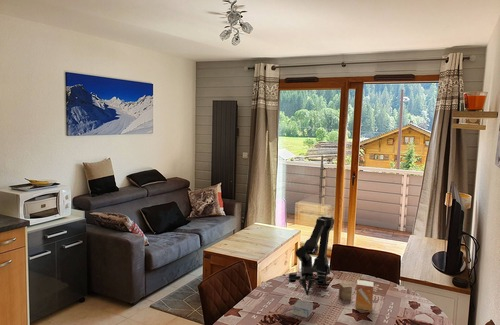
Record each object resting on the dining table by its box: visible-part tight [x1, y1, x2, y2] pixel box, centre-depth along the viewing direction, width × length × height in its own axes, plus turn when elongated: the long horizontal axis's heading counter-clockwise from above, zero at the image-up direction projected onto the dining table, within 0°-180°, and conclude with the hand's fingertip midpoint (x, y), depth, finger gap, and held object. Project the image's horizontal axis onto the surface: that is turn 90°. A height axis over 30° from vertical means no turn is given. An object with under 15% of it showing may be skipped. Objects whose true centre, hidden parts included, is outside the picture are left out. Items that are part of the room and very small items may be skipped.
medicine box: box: [292, 299, 314, 319], centre depth 192 cm, size 8×4×9 cm
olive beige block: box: [338, 282, 353, 301], centre depth 210 cm, size 5×5×7 cm
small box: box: [355, 279, 375, 312], centre depth 199 cm, size 8×6×13 cm
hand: (307, 295), depth 196 cm, fingers closed
